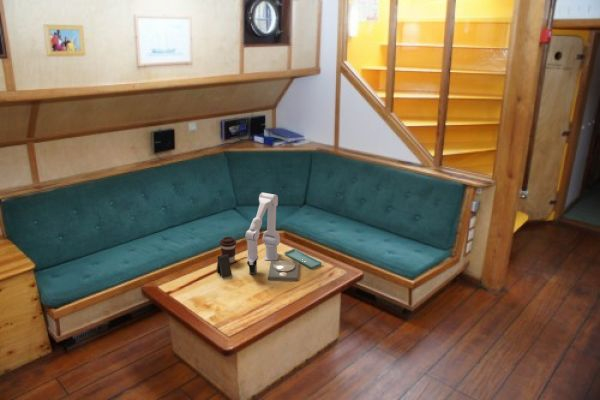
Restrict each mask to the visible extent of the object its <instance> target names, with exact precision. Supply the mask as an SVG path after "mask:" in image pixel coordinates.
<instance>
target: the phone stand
mask: <svg viewBox="0 0 600 400" xmlns="http://www.w3.org/2000/svg"><path fill="white" fill-rule="evenodd" d="M216 273H217V274H218V275H219V276H220V277H221V278H227V277H230V276H231V277H232V276H233V274H232V268H231V263H230V261H229V255H227V254H225V255H222V254H221V255H218V256H217V263H216Z"/></svg>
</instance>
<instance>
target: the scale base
mask: <svg viewBox="0 0 600 400" xmlns="http://www.w3.org/2000/svg"><path fill="white" fill-rule="evenodd" d="M277 261H278V260H270V265H269V270H268V275H267V280H268V281H287V280H288V281H290V282H292V281H293V282H298V279H299V266H300V263H299V262H298V261H295V260H292V261H291V260H290V261H291V262H293V263H294V264H295V268H294V269H293V270H291V271H287V272H281V271H277V270H275V269H274V268H273V264H274V263H275V262H277Z"/></svg>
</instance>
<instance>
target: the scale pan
mask: <svg viewBox="0 0 600 400" xmlns="http://www.w3.org/2000/svg"><path fill="white" fill-rule="evenodd" d="M276 261H277V262H275V263H274V264H273V268H274V269H275V270H277V271H281V272H287V271H291V270H293V269H294V268H295V264H294V263H293V262H291V260H287V259H283V260H276Z"/></svg>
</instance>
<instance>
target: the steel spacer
mask: <svg viewBox="0 0 600 400" xmlns="http://www.w3.org/2000/svg"><path fill="white" fill-rule="evenodd" d="M248 268H249V267H248ZM248 270H249V271H248V273H249V274H250V275H256V274H257V273H258V263H257V264H256V266H255V271H254V273H251V272H250V268H249V269H248Z"/></svg>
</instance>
